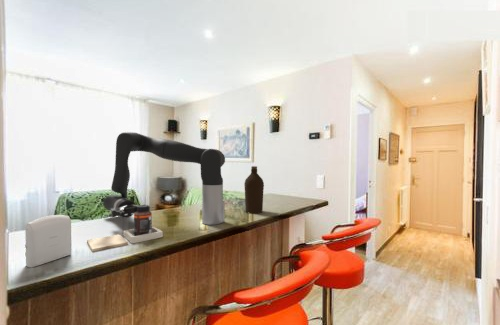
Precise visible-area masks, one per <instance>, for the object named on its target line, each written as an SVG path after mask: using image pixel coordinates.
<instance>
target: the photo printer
mask: <svg viewBox="0 0 500 325" xmlns="http://www.w3.org/2000/svg"><path fill="white" fill-rule="evenodd" d="M24 228H25V231H24V232H25V233H24V234H25V265H26V267H28V268H34V267H38V266H41V265H43V264H46V263H50V262H53V261H56V260H59V259H62V258H64V257H67V256H70V255H72V220H71V218H70V216H69V215H66V214H65V215H63V214H51V215H45V216H42V217H38V218H36V219H33V220H31V221H29V222H28V223H26V225H25V227H24Z"/></svg>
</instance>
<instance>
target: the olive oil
mask: <svg viewBox="0 0 500 325" xmlns="http://www.w3.org/2000/svg"><path fill="white" fill-rule="evenodd" d="M264 187H265V185H264V180H263V178H262V177H261V175H259V173H258V166H255V165H254V166H253V165H252V166H251V168H250V174H249V175H248V176H247V177H246V178H245V180H244V204H245V206H244V208H245V211H244V212H245V213H247V212H249V213H248V214H259V213H258V212H261V213H263V211H264V210H263V209H264V206H263V205H264V204H263V203H264Z"/></svg>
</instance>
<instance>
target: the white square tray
mask: <svg viewBox="0 0 500 325" xmlns="http://www.w3.org/2000/svg"><path fill="white" fill-rule="evenodd" d="M163 234H164V231H162V230H161V229H159V228H157V227H156V226H154V225H152V233H148V234H143V235H138V236H134V228H130V229H126V230H123V238H124V239H125V240H126V241H127V242H128V241H129V242H130V244H135V243H141V242H146V241H150V240H151V241H152V240H155V239H160V238H163Z"/></svg>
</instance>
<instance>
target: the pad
mask: <svg viewBox="0 0 500 325" xmlns="http://www.w3.org/2000/svg"><path fill="white" fill-rule="evenodd" d="M86 243H87V245H88V247H89V248H90V250H91V252H98V251H102V250H108V249H113V248H117V247H122V246H123V247H124V246H127V245H129V242H128V240H127V239H126V238H125V237H124V236H122V235H121V234H114V235H110V236H109V235H108V236H103V237H97V238H93V239H91V238H90V239H86Z"/></svg>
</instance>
